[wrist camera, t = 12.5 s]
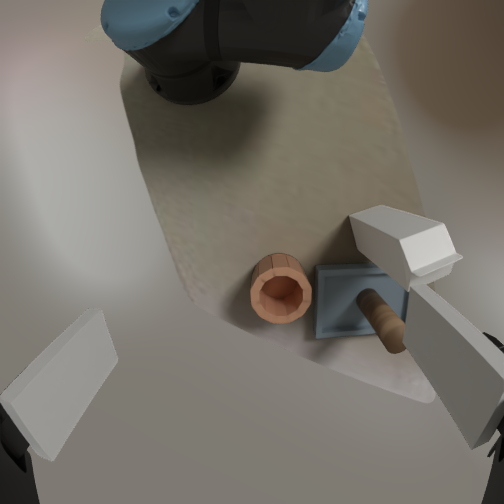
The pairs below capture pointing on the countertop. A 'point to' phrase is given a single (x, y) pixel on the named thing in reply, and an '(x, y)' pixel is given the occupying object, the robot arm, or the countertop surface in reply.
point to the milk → (404, 245)
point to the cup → (280, 289)
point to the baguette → (382, 320)
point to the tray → (351, 298)
